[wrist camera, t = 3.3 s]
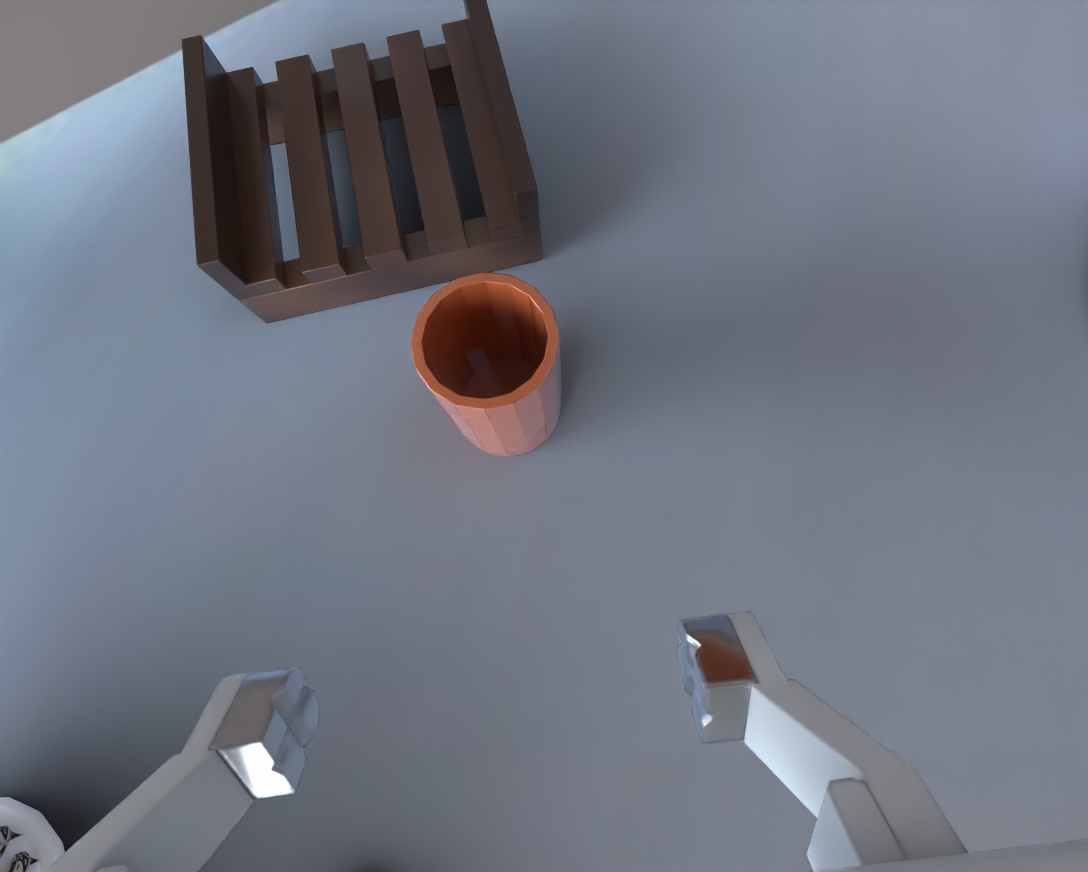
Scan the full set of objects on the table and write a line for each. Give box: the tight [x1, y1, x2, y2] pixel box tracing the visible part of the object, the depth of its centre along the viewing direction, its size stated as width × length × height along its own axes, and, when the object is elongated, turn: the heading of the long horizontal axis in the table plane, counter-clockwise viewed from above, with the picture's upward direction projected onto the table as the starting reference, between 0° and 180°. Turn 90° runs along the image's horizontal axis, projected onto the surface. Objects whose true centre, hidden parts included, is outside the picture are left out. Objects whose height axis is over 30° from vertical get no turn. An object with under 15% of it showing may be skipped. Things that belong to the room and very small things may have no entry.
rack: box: [182, 0, 543, 323], centre depth 27 cm, size 15×13×5 cm
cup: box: [411, 272, 562, 456], centre depth 22 cm, size 5×5×8 cm
